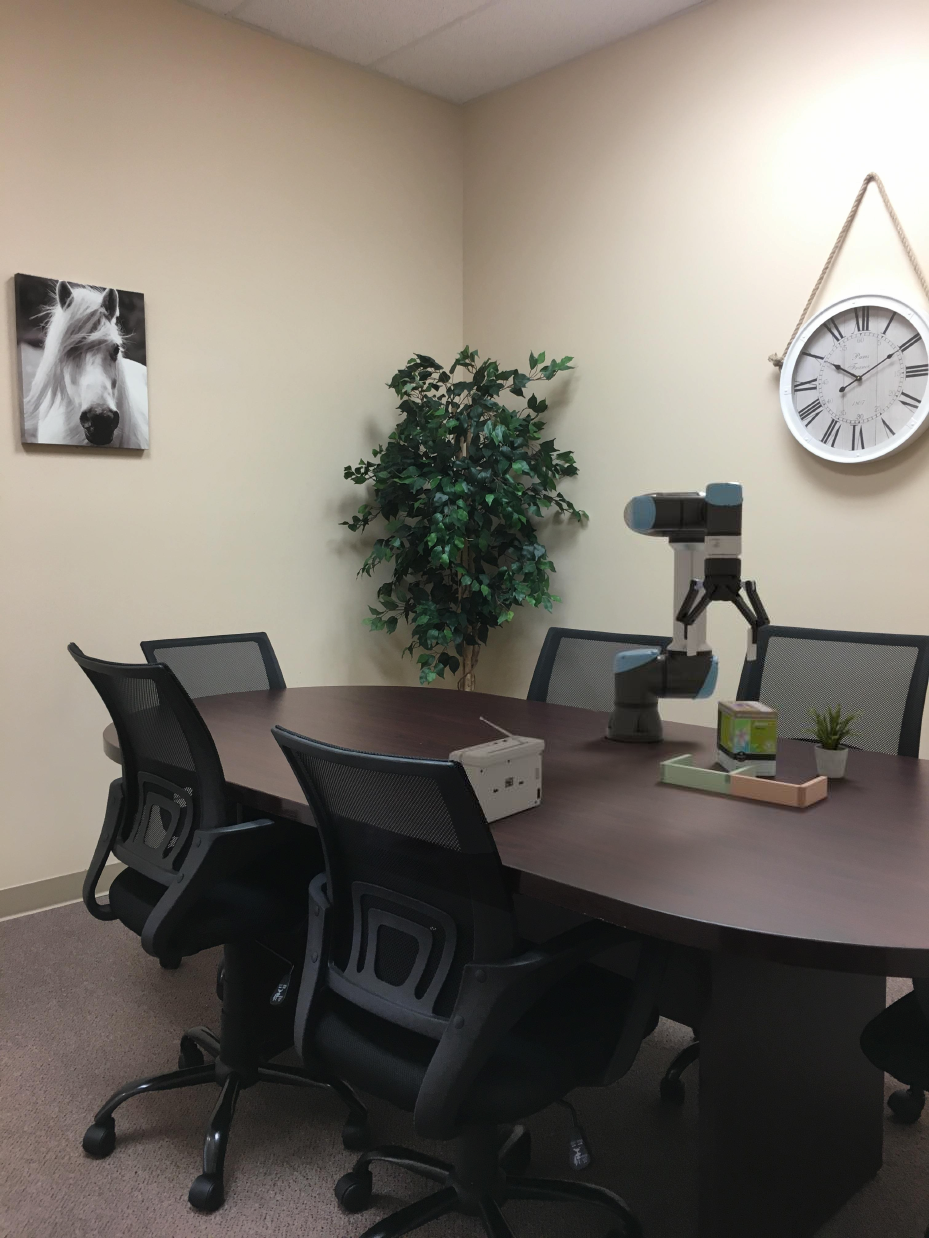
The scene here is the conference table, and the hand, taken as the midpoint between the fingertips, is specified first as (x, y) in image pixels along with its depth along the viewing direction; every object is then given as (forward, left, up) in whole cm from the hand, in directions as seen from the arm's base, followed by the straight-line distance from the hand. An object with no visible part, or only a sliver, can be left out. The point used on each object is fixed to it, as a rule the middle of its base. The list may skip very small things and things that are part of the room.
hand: (720, 657), depth 201 cm
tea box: (-2, +17, -27) cm, 32 cm away
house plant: (+16, +23, -27) cm, 39 cm away
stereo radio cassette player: (-20, -49, -27) cm, 60 cm away
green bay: (-2, 0, -27) cm, 27 cm away
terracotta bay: (+14, -1, -27) cm, 30 cm away
